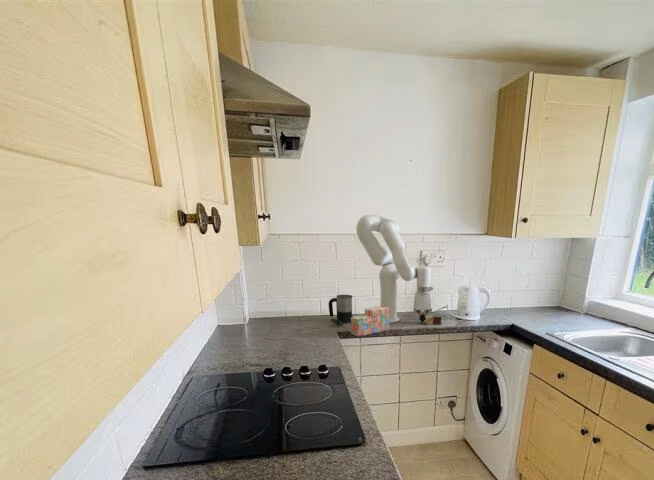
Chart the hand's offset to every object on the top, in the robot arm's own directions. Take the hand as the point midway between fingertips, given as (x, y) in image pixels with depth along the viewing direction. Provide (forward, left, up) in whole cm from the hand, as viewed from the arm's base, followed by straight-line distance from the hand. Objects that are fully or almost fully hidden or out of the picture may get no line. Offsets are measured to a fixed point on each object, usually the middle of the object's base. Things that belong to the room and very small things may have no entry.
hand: (422, 321), depth 234 cm
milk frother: (-46, +1, -1) cm, 46 cm away
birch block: (+4, 0, -1) cm, 4 cm away
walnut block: (+8, 0, -1) cm, 8 cm away
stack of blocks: (-29, -18, -1) cm, 34 cm away
